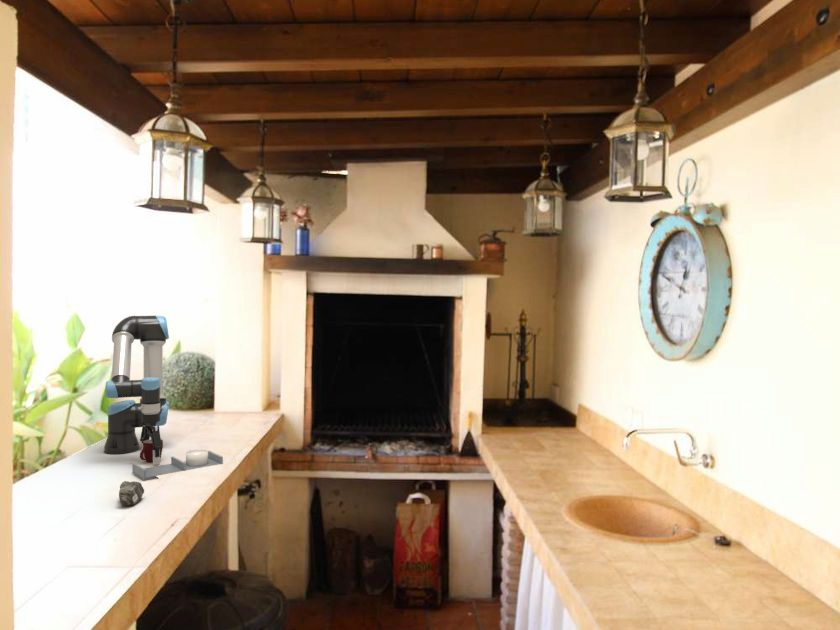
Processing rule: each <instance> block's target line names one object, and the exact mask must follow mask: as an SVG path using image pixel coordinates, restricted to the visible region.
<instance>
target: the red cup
mask: <svg viewBox="0 0 840 630" xmlns="http://www.w3.org/2000/svg"><path fill="white" fill-rule="evenodd" d="M161 443H162V448H161V449H160V459H161V458H162V452H163V448H164V442H163V439H161ZM152 449H153V444H152V440H151V438H149V440H145V441H143V450H142V449H141V450H140V452H139V458H140V460H142V461H145V462H146V463H150V464H151V463H152V464H153V450H152ZM143 453H144V456H145V459H144V458H143Z"/></svg>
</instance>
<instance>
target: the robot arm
mask: <svg viewBox="0 0 840 630" xmlns="http://www.w3.org/2000/svg"><path fill="white" fill-rule="evenodd" d="M169 339H170V335H169V328H168V321H167V317H165V316H163V315H130V316H127V317H125V318H123V319H121V321H119V322H118V323H117V324H116V325H115V327H114V329H113V332H112V334H111V341H112V343H113V352H112V353H113V354H112V364H111V365H112V367H111V379H110V380H108V381H106V382H105V397H106V398H108V399H119V398H120V399H121V398H139V397H140V398H139V402H136V400H134V399H128V400H120V401H115V402H113V403H110V404H109V406H108V408H107V424H108V425H107V438H106V440H105V443H104V446H103V452H104V453H105V454H109V455H123V454H129V453H133V452H136V451H138V450H140V443H139V441H140V442H141V450H143V441H145V440H150V439H151V440H152V444H153V449H152V450H153V463H152V465H153V466H158V465H160V464H161V463H160V462H161V458H160V449H161V448H162V443H161V440H162V439H161V438H162V437H161V434H160V433H161V432H160V427H161V426H162V427H163V426H165V425H166V424H167V420H168V413H169V405H170V402H169V401H168V400H167V397H166V396H165V395H164V394H163V393H164V392H163V388H164V387H163V385H164V384H163V378H164V377H163V370H164V369H163V367H164V365H163V352H164V351H163V350H164V349H163V346H164V345H165V344H166V342H167V340H169ZM135 340H139V342H140V345H142V347H143V377H142V378H141V379H134V380H133V379H132V380H131V365H132V362H131V361H132V345H133V343H134V341H135ZM136 428H141V433H140V439H139V440H138V437H137V435H136ZM143 458H144V459H145V456H144V453H143Z"/></svg>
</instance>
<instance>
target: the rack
mask: <svg viewBox="0 0 840 630" xmlns="http://www.w3.org/2000/svg"><path fill="white" fill-rule="evenodd" d="M207 451H208V464H206V465H203V466H187V465H186V460H185V461H183V460H181V459H179V458H177V457H176V456H170V458H171V461H170V462H171V463H168V464H163V465H162V464H161V465H154V466H150V467H146V468H145V467H143V466H141V465H139V464H137V463H136V462H132V463H131V464H132V465H131V466H132V471H131V472H132V474H133V475H134V476H136V477H137V478H139V479H140V480H142V481H144V482H146V481H150V480H151V481H152V480H156V479H159V477H158V476H163V475H167V474H173V473H174V474H175V473H179V472H183V471H184V472H185V471H190V470H195V469H201V468H205V467H212V466H218V465H223V463H224V456H223V455H220V454H218V453H216V452H213V451H212V450H207Z"/></svg>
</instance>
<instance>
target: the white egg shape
mask: <svg viewBox="0 0 840 630" xmlns="http://www.w3.org/2000/svg"><path fill="white" fill-rule="evenodd" d="M208 451H209V450H207V449H194V450H193V449H192V450H188V451H186V452H185V461H186V465H187V466H203V465H206V464H208Z"/></svg>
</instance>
